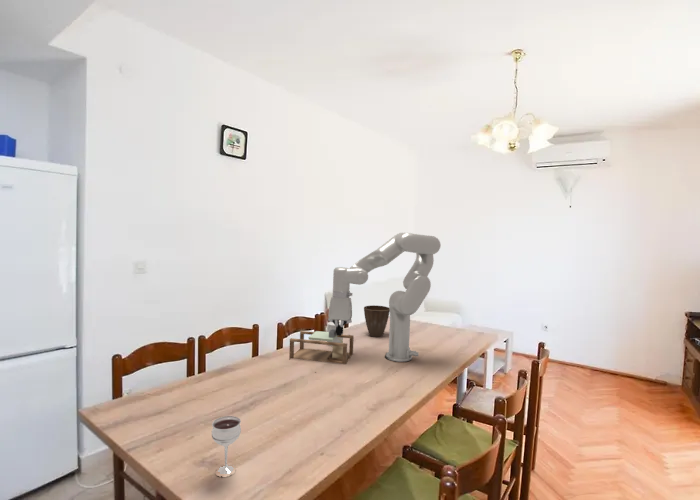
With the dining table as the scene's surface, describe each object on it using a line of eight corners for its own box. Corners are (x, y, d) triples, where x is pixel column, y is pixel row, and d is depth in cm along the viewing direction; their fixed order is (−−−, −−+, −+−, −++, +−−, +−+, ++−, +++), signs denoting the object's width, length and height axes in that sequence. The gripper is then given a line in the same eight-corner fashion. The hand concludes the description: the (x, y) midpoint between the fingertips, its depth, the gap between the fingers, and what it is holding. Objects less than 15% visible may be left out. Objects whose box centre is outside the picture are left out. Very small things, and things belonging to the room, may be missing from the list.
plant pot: (361, 331, 223) (362, 305, 223) (386, 332, 225) (387, 305, 224) (364, 339, 209) (365, 310, 208) (391, 339, 210) (392, 310, 209)
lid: (338, 335, 178) (338, 327, 178) (332, 341, 167) (332, 333, 167) (316, 333, 180) (316, 325, 180) (308, 339, 169) (308, 331, 169)
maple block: (345, 356, 174) (345, 343, 174) (342, 359, 169) (343, 346, 169) (334, 355, 175) (335, 342, 175) (332, 358, 171) (332, 345, 170)
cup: (342, 349, 189) (343, 325, 188) (326, 348, 189) (326, 325, 188) (343, 344, 197) (343, 321, 196) (327, 344, 197) (328, 321, 197)
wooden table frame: (352, 356, 179) (353, 335, 178) (345, 367, 164) (346, 344, 164) (300, 351, 184) (301, 330, 184) (289, 361, 170) (289, 339, 169)
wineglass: (220, 484, 87) (220, 433, 86) (205, 471, 91) (206, 422, 91) (245, 470, 92) (246, 422, 91) (230, 459, 96) (231, 413, 96)
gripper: (358, 294, 173) (357, 334, 174) (327, 292, 176) (325, 331, 177) (355, 297, 166) (353, 338, 167) (322, 294, 169) (321, 335, 170)
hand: (339, 334), depth 172 cm, fingers closed
